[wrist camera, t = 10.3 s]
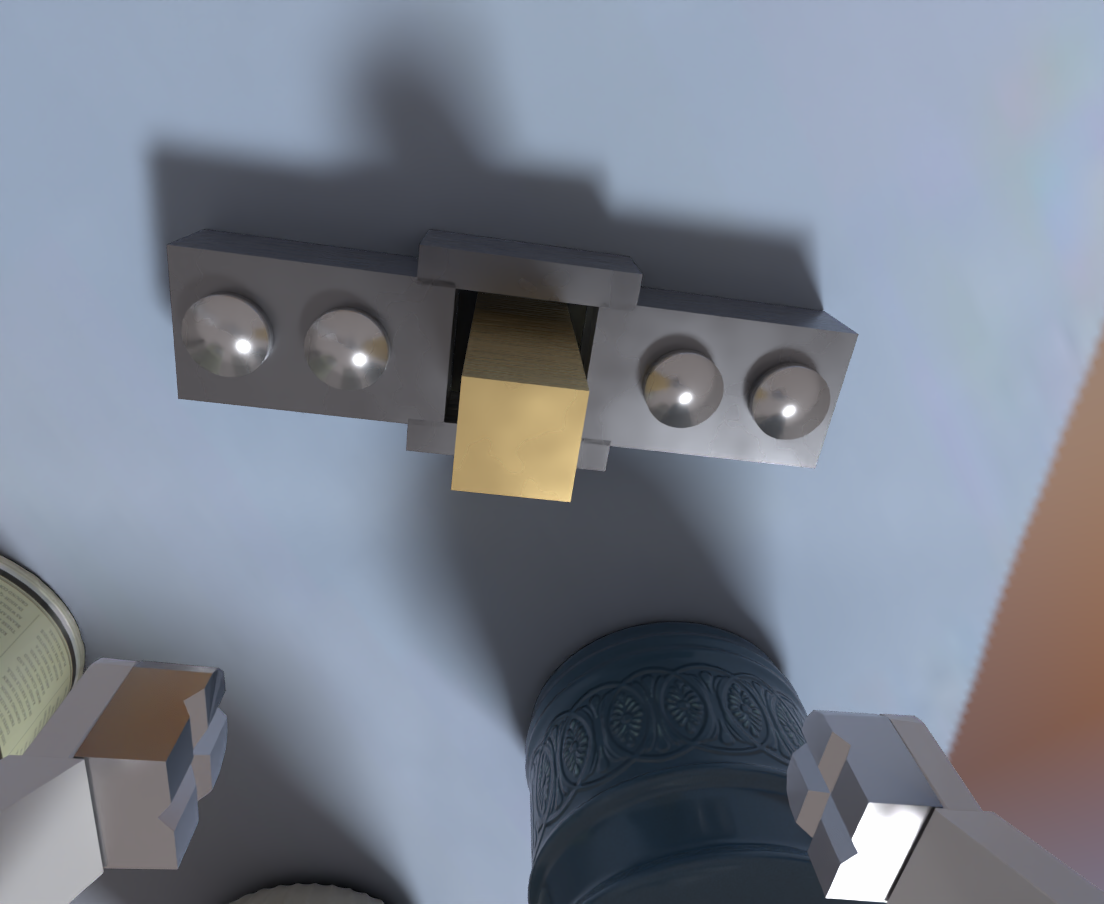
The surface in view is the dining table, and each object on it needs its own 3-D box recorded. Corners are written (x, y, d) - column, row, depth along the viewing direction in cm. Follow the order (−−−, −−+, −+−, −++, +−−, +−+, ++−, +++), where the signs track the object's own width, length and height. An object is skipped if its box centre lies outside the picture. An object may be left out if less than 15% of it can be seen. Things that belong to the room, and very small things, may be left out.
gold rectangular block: (477, 291, 26) (461, 375, 18) (566, 303, 27) (589, 391, 19) (469, 376, 28) (451, 489, 20) (554, 386, 28) (570, 502, 20)
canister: (844, 727, 36) (1102, 1215, 20) (636, 851, 40) (718, 1359, 24) (688, 562, 32) (864, 1025, 16) (467, 718, 35) (428, 1234, 19)
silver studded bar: (202, 198, 25) (155, 213, 21) (832, 284, 27) (875, 309, 24) (213, 394, 28) (172, 433, 24) (780, 457, 30) (813, 500, 27)
